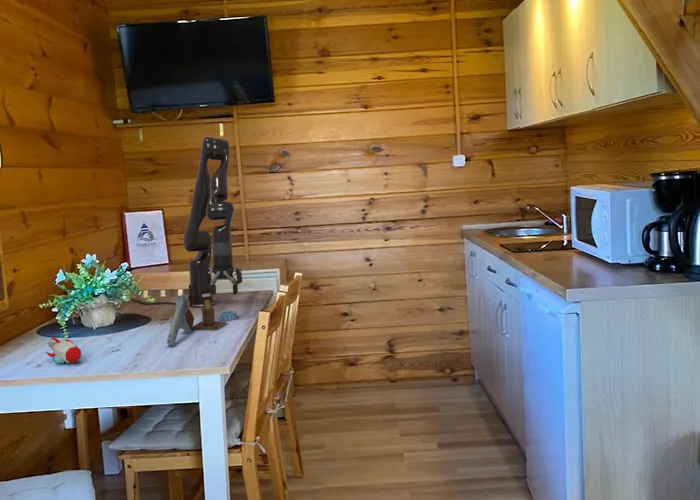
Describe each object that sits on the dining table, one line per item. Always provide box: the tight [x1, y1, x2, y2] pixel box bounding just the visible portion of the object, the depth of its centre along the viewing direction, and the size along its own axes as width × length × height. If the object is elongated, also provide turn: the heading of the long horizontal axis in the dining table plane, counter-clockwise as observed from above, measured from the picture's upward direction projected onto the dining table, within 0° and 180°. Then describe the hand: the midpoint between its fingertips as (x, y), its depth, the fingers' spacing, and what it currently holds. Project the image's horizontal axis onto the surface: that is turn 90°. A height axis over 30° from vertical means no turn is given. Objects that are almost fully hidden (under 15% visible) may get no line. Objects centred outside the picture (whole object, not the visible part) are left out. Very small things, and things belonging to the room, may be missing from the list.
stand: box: [192, 300, 228, 331], centre depth 248 cm, size 10×10×10 cm
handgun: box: [166, 293, 195, 347], centre depth 231 cm, size 4×25×15 cm
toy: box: [45, 336, 82, 364], centre depth 207 cm, size 21×7×7 cm, turn 40°
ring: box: [219, 310, 238, 322], centre depth 262 cm, size 6×6×2 cm
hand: (224, 294), depth 261 cm, fingers open, 8 cm apart
